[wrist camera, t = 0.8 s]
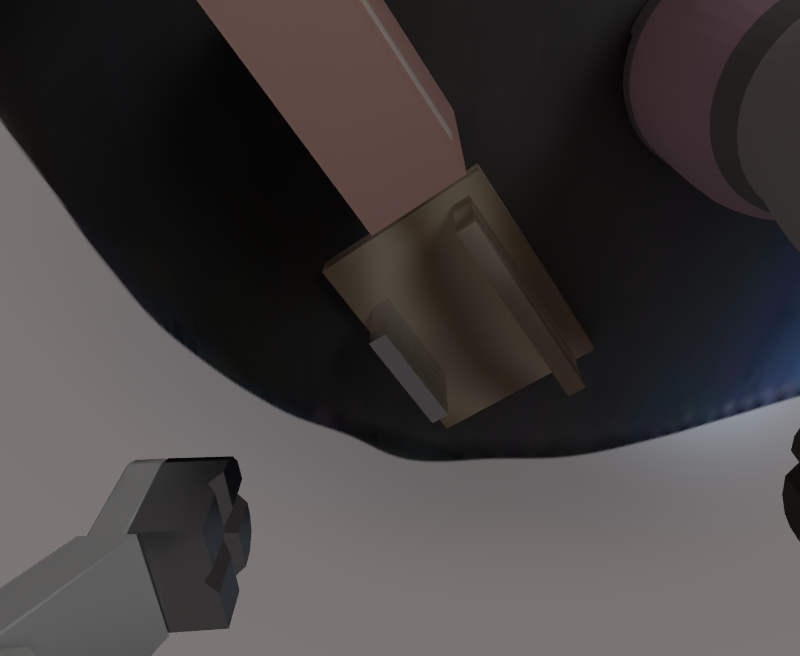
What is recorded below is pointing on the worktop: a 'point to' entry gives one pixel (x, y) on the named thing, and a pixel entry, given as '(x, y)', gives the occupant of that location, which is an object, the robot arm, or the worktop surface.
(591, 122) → the worktop surface
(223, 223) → the worktop surface
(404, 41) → the boxed book
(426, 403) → the grey thin rectangular slab
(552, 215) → the worktop surface
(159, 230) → the worktop surface
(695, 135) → the blender
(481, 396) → the beige panel with ridge
